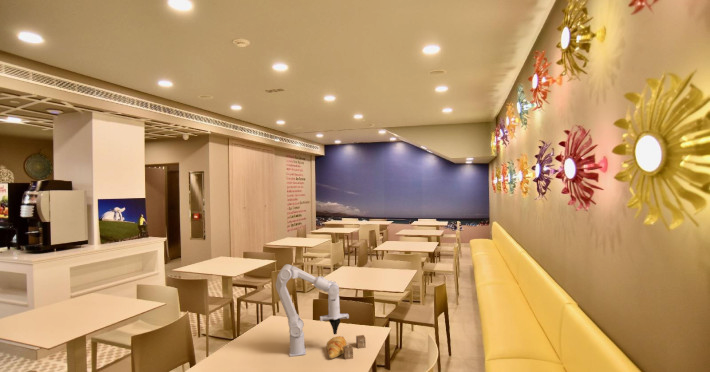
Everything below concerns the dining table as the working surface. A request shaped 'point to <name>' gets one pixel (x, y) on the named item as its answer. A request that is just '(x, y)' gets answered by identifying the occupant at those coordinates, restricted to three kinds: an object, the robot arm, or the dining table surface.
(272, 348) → the dining table surface
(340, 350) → the croissant
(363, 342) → the number block seven
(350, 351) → the number block one
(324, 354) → the dining table surface
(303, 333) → the robot arm
